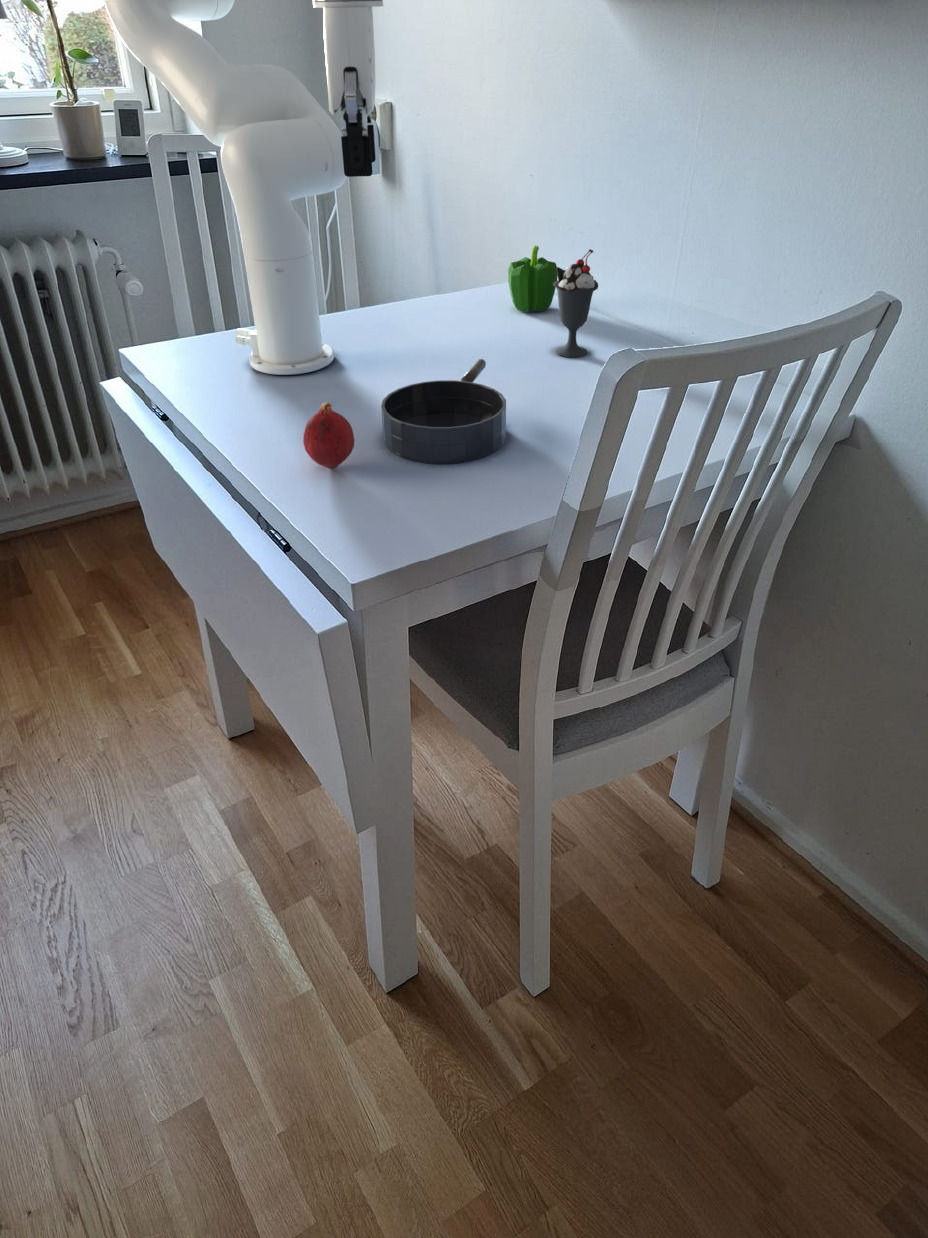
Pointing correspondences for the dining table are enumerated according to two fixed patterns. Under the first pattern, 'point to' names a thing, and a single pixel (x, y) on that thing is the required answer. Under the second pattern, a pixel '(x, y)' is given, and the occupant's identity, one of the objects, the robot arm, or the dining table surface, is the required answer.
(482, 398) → the pan
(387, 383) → the dining table surface
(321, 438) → the onion
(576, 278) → the sundae
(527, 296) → the bell pepper
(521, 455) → the dining table surface
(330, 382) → the dining table surface
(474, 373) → the pan handle
